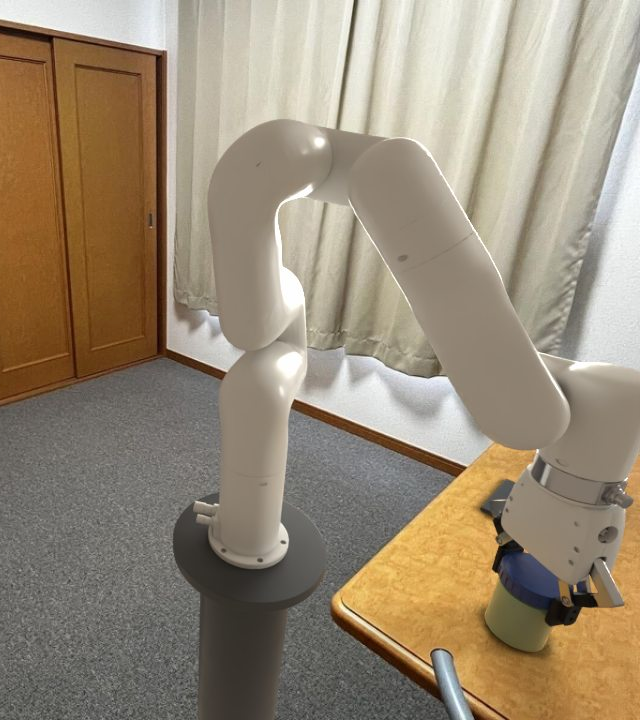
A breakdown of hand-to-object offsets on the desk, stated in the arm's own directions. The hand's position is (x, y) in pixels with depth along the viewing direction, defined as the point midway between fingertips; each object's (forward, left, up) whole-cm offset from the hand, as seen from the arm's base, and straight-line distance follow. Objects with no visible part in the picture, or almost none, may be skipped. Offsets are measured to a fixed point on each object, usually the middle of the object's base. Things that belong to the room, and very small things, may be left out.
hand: (529, 594), depth 58 cm
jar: (0, 0, -6) cm, 6 cm away
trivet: (+9, +26, -6) cm, 28 cm away
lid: (0, 0, +3) cm, 3 cm away
